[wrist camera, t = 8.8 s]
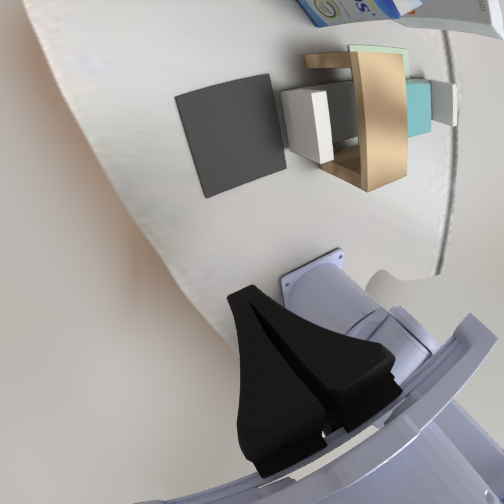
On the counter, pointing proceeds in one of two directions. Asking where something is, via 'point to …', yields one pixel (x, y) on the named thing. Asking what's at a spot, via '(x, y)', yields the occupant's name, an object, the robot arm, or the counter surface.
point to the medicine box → (356, 10)
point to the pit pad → (233, 132)
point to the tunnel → (372, 118)
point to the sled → (356, 113)
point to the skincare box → (457, 17)
